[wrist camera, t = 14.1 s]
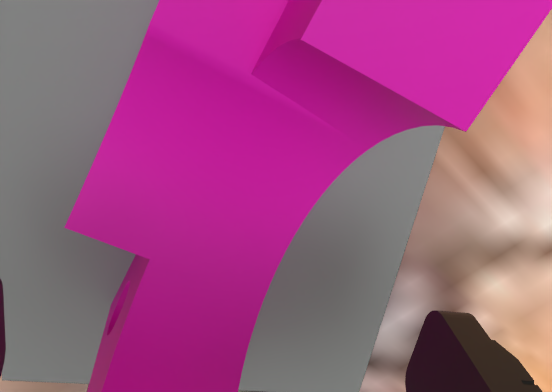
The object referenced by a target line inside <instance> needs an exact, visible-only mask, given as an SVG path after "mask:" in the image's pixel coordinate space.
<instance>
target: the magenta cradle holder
mask: <svg viewBox="0 0 552 392" xmlns="http://www.w3.org/2000/svg"><path fill="white" fill-rule="evenodd" d="M551 9H552V0H159V2H158V5H157V7H156V9H155V12H154V14H153V16H152V19H151V21H150V24H149V26H148V29H147V32H146V34H145V37H144V40H143V42H142V45H141V48H140V50H139V53H138V55H137V58H136V61H135V63H134V66H133V68H132V71H131V73H130V76H129V78H128V81H127V83H126V86H125V88H124V90H123V93H122V95H121V98H120V100H119V103H118V105H117V107H116V110H115V112H114V115H113V117H112V119H111V122H110V124H109V127H108V129H107V131H106V134H105V136H104V138H103V141H102V143H101V145H100V148H99V150H98V152H97V155H96V157H95V159H94V162H93V164H92V166H91V168H90V171H89V173H88V175H87V178H86V180H85V182H84V184H83V187H82V189H81V191H80V194H79V196H78V198H77V200H76V203H75V205H74V207H73V209H72V211H71V214H70V216H69V218H68V220H67V223H66V225H65V227H64V228H66V229H69V230H72V231H74V232H77V233H80V234H82V235H85V236H88V237H91V238H93V239H96V240H99V241H101V242H104V243H107V244H109V245H112V246H115V247H117V248H120V249H123V250H126V251H128V252H131V253H134V254H136V255H135V257H134V259H133V261H132V263H131V265H130V267H129V269H128V271H127V273H126V275H125V277H124V280H123V282H122V284H121V286H120V288H119V290H118V292H117V294H116V296H115V298H114V300H113V302H112V304H111V307H110V310H109V314H108V317H107V321H106V325H105V328H104V332H103V335H102V339H101V343H100V346H99V350H98V354H97V357H96V361H95V364H94V368H93V372H92V375H91V379H90V382H89V386H88V390H87V392H238V389H239V384H240V379H241V374H242V370H243V366H244V361H245V357H246V353H247V350H248V346H249V343H250V339H251V336H252V332H253V329H254V326H255V323H256V320H257V317H258V314H259V312H260V309H261V306H262V303H263V301H264V298H265V296H266V293H267V291H268V288H269V286H270V283H271V281H272V279H273V277H274V275H275V272H276V270H277V268H278V266H279V264H280V262H281V260H282V258H283V256H284V254H285V252H286V250H287V248H288V246H289V245H290V243H291V241H292V239H293V237H294V236H295V234H296V232H297V231H298V229H299V227H300V226H301V224H302V223H303V221H304V219H305V218H306V216H307V215H308V214H309V212H310V211H311V209H312V208H313V206H314V205H315V204H316V202H317V201H318V200H319V198H320V197H321V196H322V194H323V193H324V192H325V191H326V190H327V188H328V187H329V186H330V185H331V184H332V183H333V181H334V180H335V179H336V178H337V177H338V176H339V175H340V174H341V173H342V172H343V171H344V170H345V169H346V168H347V167H348V166H349V165H350V164H351V163H353V162H354V161H355V160H356V159H357V158H358V157H360V156H361V155H362V154H363V153H365V152H366V151H367V150H369V149H370V148H372V147H373V146H375V145H376V144H378V143H379V142H381V141H383V140H385V139H387V138H389V137H391V136H392V135H394V134H397V133H400V132H402V131H405V130H408V129H412V128H417V127H421V126H434V125H438V126H447V127H453V128H456V129H459V130H462V131H465V132H466V131H467V130H468V128H469V127H470V125H471V124H472V122H473V121H474V120H475V118H476V117H477V115H478V114H479V112H480V111H481V110H482V108H483V107H484V105H485V104H486V102H487V101H488V99H489V98H490V97H491V95H492V94H493V92H494V91H495V89H496V88H497V87H498V85H499V84H500V82H501V81H502V79H503V78H504V76H505V75H506V74H507V72H508V71H509V69H510V68H511V66H512V65H513V64H514V62H515V61H516V59H517V58H518V56H519V55H520V53H521V52H522V51H523V49H524V48H525V46H526V45H527V43H528V42H529V41H530V39H531V38H532V36H533V35H534V33H535V32H536V30H537V29H538V28H539V26H540V25H541V23H542V22H543V20H544V19H545V18H546V16H547V15H548V13H549V12H550V10H551Z"/></svg>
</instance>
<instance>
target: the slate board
mask: <svg viewBox="0 0 552 392" xmlns="http://www.w3.org/2000/svg"><path fill="white" fill-rule="evenodd" d="M158 2H159V0H0V279H1V281H2V284H3V297H4V319H5V341H6V352H5V360H4V365H3V369H2V380H9V381H32V382H56V383H80V384H89V382H90V379H91V375H92V372H93V368H94V364H95V361H96V357H97V354H98V350H99V346H100V343H101V339H102V335H103V332H104V328H105V325H106V321H107V317H108V314H109V310H110V307H111V304H112V302H113V300H114V298H115V296H116V294H117V292H118V290H119V288H120V286H121V284H122V282H123V280H124V277H125V275H126V273H127V271H128V269H129V267H130V265H131V263H132V261H133V259H134V257H135V255H136V254H134V253H131V252H128V251H126V250H123V249H120V248H117V247H115V246H112V245H109V244H107V243H104V242H101V241H99V240H96V239H93V238H91V237H88V236H85V235H82V234H80V233H77V232H74V231H72V230H69V229H66V228H64V227H65V225H66V223H67V220H68V218H69V216H70V214H71V211H72V209H73V207H74V205H75V203H76V200H77V198H78V196H79V194H80V191H81V189H82V187H83V184H84V182H85V180H86V178H87V175H88V173H89V171H90V168H91V166H92V164H93V162H94V159H95V157H96V155H97V152H98V150H99V148H100V145H101V143H102V141H103V138H104V136H105V134H106V131H107V129H108V127H109V124H110V122H111V119H112V117H113V115H114V112H115V110H116V107H117V105H118V103H119V100H120V98H121V95H122V93H123V90H124V88H125V86H126V83H127V81H128V78H129V76H130V73H131V71H132V68H133V66H134V63H135V61H136V58H137V55H138V53H139V50H140V48H141V45H142V42H143V40H144V37H145V34H146V32H147V29H148V26H149V24H150V21H151V19H152V16H153V14H154V12H155V9H156V7H157V5H158ZM444 128H445V126H438V125H434V126H421V127H417V128H412V129H408V130H405V131H402V132H400V133H397V134H394V135H392V136H391V137H389V138H387V139H385V140H383V141H381V142H379V143H378V144H376V145H375V146H373V147H372V148H370V149H369V150H367V151H366V152H365V153H363V154H362V155H361V156H360V157H358V158H357V159H356V160H355V161H354V162H353V163H351V164H350V165H349V166H348V167H347V168H346V169H345V170H344V171H343V172H342V173H341V174H340V175H339V176H338V177H337V178H336V179H335V180H334V181H333V183H332V184H331V185H330V186H329V187H328V188H327V190H326V191H325V192H324V193H323V194H322V196H321V197H320V198H319V200H318V201H317V202H316V204H315V205H314V206H313V208H312V209H311V211H310V212H309V214H308V215H307V216H306V218H305V219H304V221H303V223H302V224H301V226H300V227H299V229H298V231H297V232H296V234H295V236H294V237H293V239H292V241H291V243H290V245H289V246H288V248H287V250H286V252H285V254H284V256H283V258H282V260H281V262H280V264H279V266H278V268H277V270H276V272H275V275H274V277H273V279H272V281H271V283H270V286H269V288H268V291H267V293H266V296H265V298H264V301H263V303H262V306H261V309H260V312H259V314H258V317H257V320H256V323H255V326H254V329H253V332H252V336H251V339H250V343H249V346H248V350H247V353H246V357H245V361H244V366H243V370H242V374H241V379H240V384H239V389H238V390H245V391H269V392H359V390H360V387H361V384H362V381H363V378H364V375H365V372H366V369H367V366H368V362H369V359H370V356H371V353H372V350H373V347H374V344H375V341H376V338H377V335H378V332H379V328H380V325H381V322H382V319H383V316H384V313H385V310H386V307H387V304H388V301H389V298H390V295H391V291H392V288H393V285H394V282H395V279H396V276H397V273H398V270H399V267H400V264H401V261H402V257H403V254H404V251H405V248H406V245H407V242H408V239H409V236H410V233H411V230H412V227H413V223H414V220H415V217H416V214H417V211H418V208H419V205H420V202H421V199H422V196H423V193H424V189H425V186H426V183H427V180H428V177H429V174H430V171H431V168H432V165H433V162H434V159H435V155H436V152H437V149H438V146H439V143H440V140H441V137H442V134H443V131H444Z"/></svg>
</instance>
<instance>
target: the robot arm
mask: <svg viewBox="0 0 552 392" xmlns="http://www.w3.org/2000/svg"><path fill="white" fill-rule="evenodd" d="M5 352H6V341H5V319H4V297H3V284H2V281H1V279H0V376H1V373H2V369H3V365H4V360H5ZM405 383H406V392H542V390H541V389H540V388H539V386H538V385H534V380H533V379H532V377H531V376H530V375H529V373H528V372H527V371H526V369H525V368H524V367H523V365H522V364H521V363H520V362H519V360H518V359H517V358H516V357H514V356H513V355H512V354H511V353H509V352H508V351H507V350H506V349H505V348H503V347H502V346H501V345H500V344H498V343H497V342H496V341H495V340H491V339H490V338H489V336H488V335H487V334H486V332H485V331H484V329H483V328H482V327H481V325H480V324H479V323H478V321H477V320H476V319H475V317H474V316H473V315H471V314H469V313H459V312H446V311H431V312H430V313H429V314H428V315H427V317H426V319H425V321H424V324H423V327H422V329H421V332H420V335H419V337H418V340H417V343H416V345H415V348H414V351H413V353H412V356H411V359H410V362H409V364H408V367H407V371H406V380H405Z"/></svg>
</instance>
